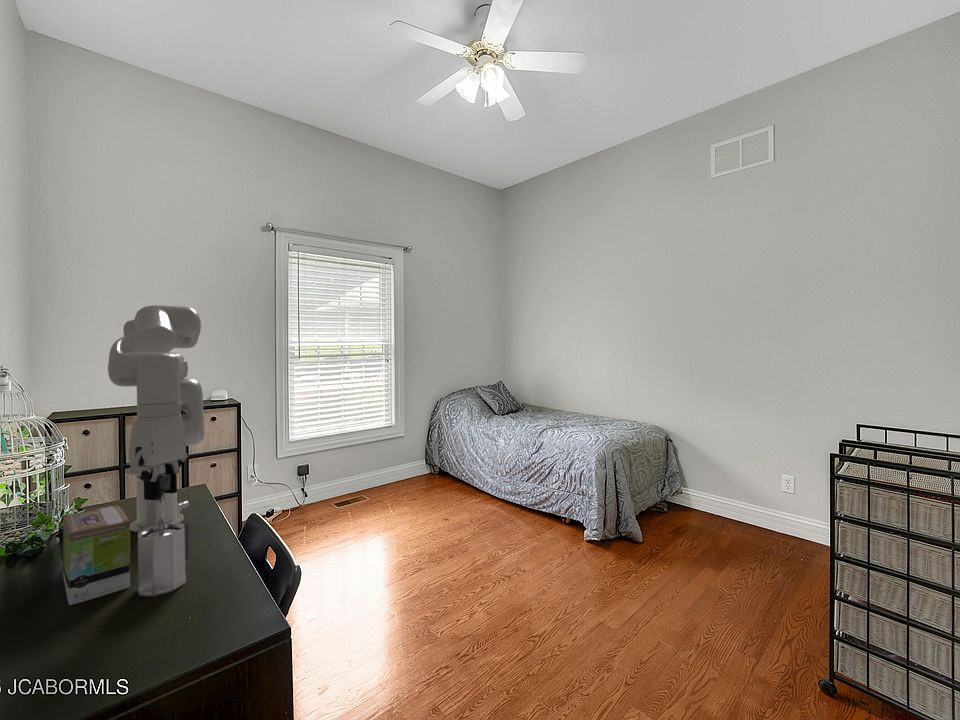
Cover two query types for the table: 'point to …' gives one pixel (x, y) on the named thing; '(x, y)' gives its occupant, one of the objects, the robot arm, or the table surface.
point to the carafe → (162, 560)
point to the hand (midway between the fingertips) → (160, 495)
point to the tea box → (96, 553)
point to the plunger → (162, 505)
